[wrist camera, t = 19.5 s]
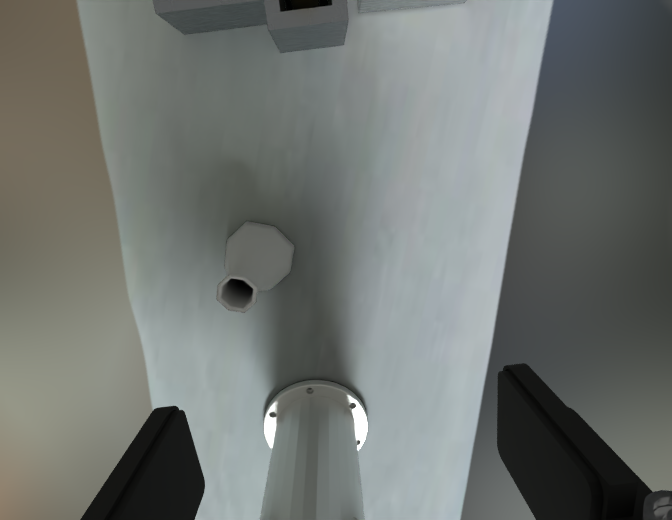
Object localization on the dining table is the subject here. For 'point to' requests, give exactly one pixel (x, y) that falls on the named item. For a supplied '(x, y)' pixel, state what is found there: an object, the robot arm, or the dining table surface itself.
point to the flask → (253, 264)
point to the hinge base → (261, 20)
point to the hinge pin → (304, 4)
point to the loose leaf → (400, 4)
